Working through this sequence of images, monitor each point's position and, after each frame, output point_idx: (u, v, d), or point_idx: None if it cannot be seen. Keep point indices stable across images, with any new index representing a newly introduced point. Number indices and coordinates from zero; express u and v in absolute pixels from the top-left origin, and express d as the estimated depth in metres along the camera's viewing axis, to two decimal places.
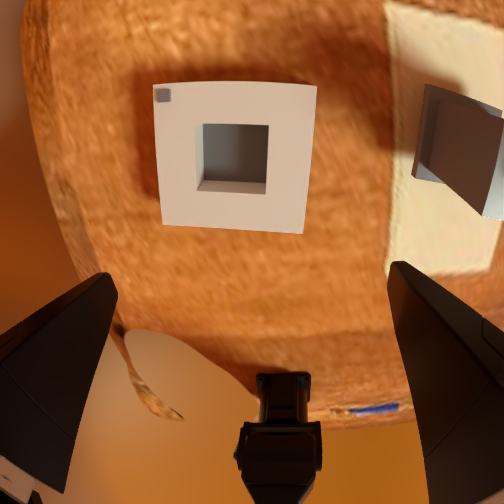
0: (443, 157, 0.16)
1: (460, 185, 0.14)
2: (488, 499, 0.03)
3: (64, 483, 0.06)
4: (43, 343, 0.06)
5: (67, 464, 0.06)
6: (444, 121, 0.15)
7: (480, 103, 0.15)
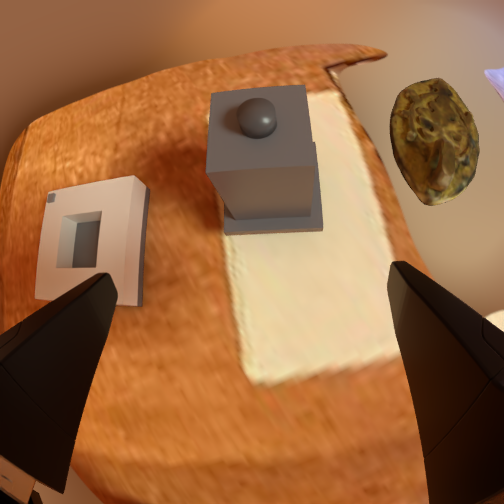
0: None
1: None
2: (488, 499, 0.03)
3: (65, 483, 0.06)
4: (43, 343, 0.06)
5: (67, 464, 0.06)
6: None
7: None
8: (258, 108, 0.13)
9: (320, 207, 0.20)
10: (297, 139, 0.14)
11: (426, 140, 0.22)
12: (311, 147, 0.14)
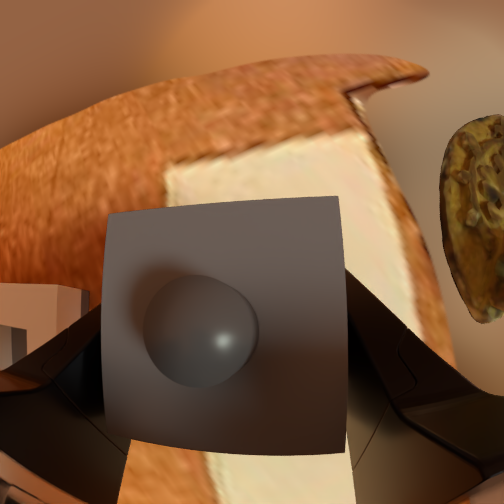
0: None
1: None
2: None
3: (116, 503, 0.06)
4: (96, 352, 0.06)
5: (118, 481, 0.06)
6: None
7: None
8: (200, 319, 0.05)
9: None
10: (308, 386, 0.05)
11: (492, 224, 0.13)
12: (342, 409, 0.05)
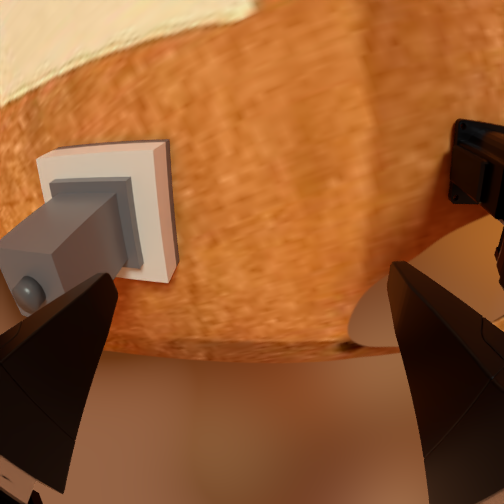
0: None
1: None
2: (488, 499, 0.03)
3: (65, 483, 0.06)
4: (43, 343, 0.06)
5: (67, 464, 0.06)
6: None
7: None
8: (20, 298, 0.13)
9: (106, 182, 0.18)
10: (35, 264, 0.13)
11: None
12: (38, 254, 0.12)
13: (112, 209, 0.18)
